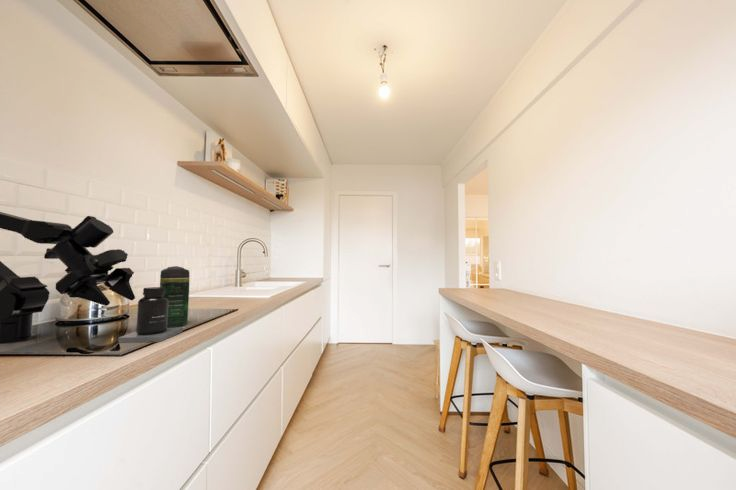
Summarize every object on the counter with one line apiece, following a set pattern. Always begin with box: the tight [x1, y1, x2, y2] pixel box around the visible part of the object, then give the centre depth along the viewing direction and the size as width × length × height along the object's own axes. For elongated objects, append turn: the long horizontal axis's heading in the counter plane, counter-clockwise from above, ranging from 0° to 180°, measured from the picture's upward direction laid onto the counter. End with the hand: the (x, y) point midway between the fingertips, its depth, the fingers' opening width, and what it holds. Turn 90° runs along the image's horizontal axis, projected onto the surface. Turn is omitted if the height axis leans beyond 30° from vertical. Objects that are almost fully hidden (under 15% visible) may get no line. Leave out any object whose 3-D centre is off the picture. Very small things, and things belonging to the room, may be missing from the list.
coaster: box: [117, 327, 184, 343], centre depth 78 cm, size 10×10×1 cm
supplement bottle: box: [135, 286, 169, 335], centre depth 79 cm, size 7×7×12 cm
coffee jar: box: [159, 265, 190, 328], centre depth 93 cm, size 10×8×19 cm
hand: (121, 301), depth 78 cm, fingers open, 9 cm apart
